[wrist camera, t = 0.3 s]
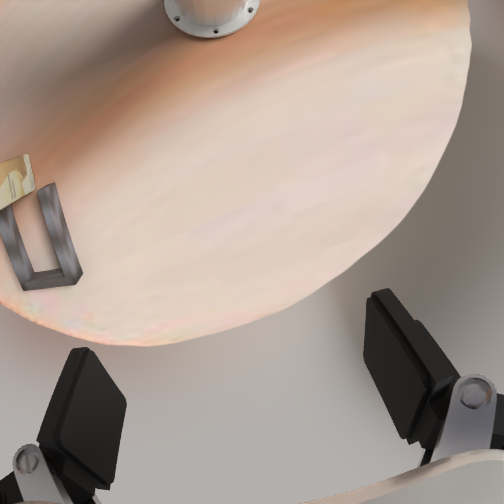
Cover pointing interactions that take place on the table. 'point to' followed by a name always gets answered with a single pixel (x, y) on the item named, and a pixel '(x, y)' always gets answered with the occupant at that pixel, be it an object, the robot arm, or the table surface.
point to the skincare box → (15, 179)
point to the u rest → (60, 238)
